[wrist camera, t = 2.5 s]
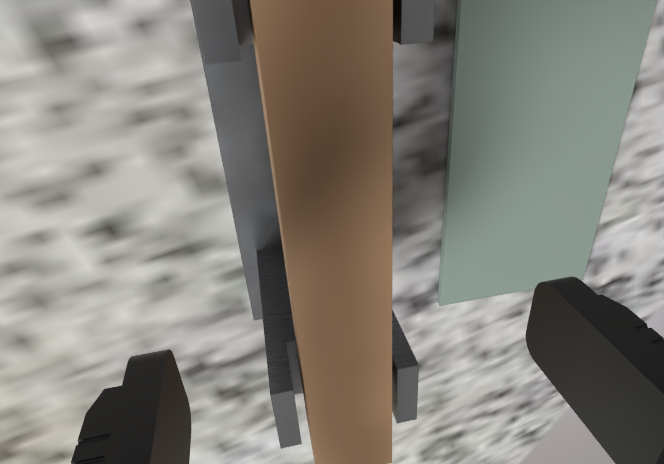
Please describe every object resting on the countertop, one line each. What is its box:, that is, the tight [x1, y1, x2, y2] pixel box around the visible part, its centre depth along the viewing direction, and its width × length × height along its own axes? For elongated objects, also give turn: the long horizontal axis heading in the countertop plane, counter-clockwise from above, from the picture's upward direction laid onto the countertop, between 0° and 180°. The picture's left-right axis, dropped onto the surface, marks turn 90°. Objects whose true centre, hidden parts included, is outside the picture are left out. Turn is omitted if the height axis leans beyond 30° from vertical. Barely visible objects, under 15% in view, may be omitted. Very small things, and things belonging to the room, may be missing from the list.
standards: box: [190, 0, 435, 448], centre depth 18 cm, size 7×20×10 cm, turn 4°
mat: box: [438, 0, 657, 306], centre depth 24 cm, size 10×24×1 cm, turn 4°
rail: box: [248, 0, 393, 464], centre depth 14 cm, size 3×20×3 cm, turn 4°
